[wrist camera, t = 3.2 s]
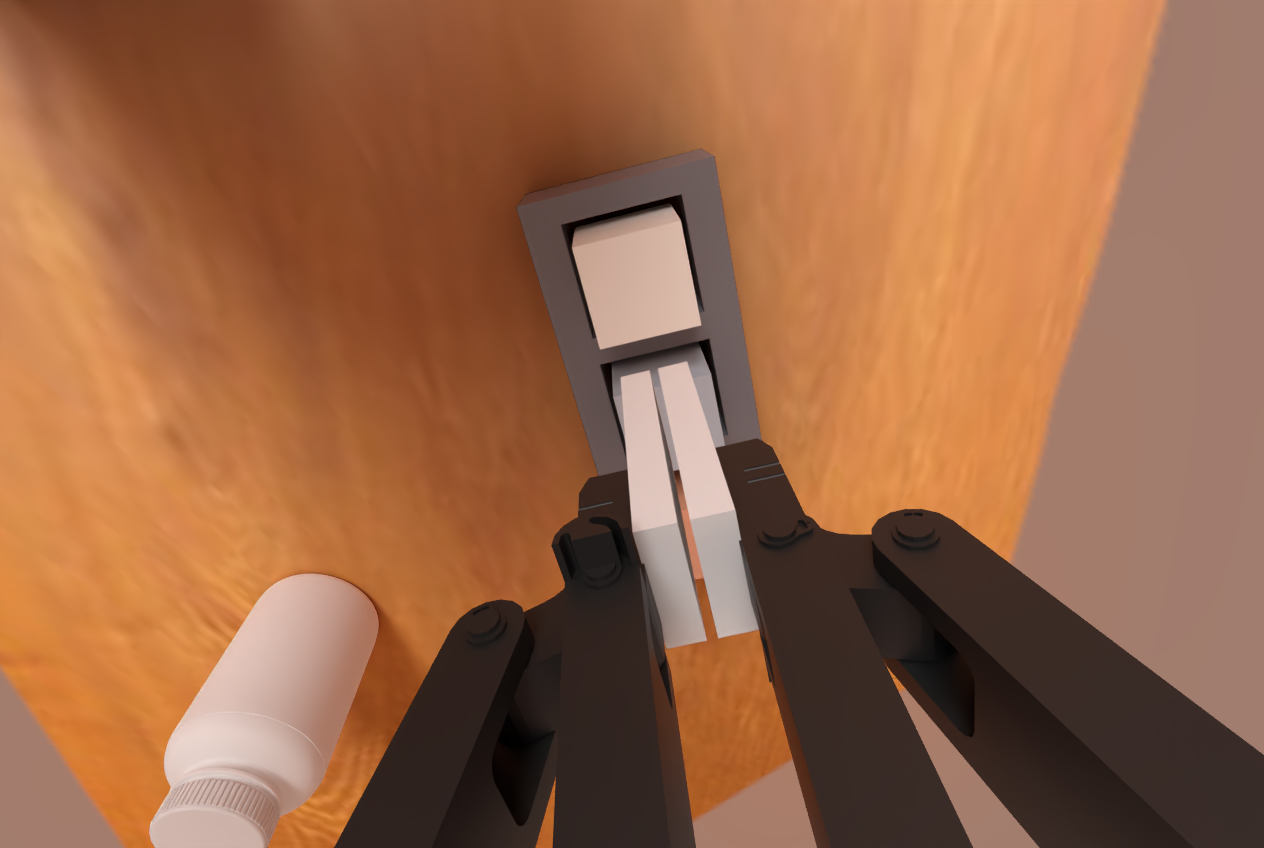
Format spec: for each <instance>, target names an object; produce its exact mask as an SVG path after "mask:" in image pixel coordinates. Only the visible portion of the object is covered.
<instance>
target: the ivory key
mask: <svg viewBox="0 0 1264 848" xmlns="http://www.w3.org/2000/svg"><path fill="white" fill-rule="evenodd" d="M572 250H573V254H574V257H575V261H576V265H577V268H578V272H579V275H580V279H581V283H582V286H583V290H584V294H585V297H586V301H587V304H588V308H589V312H590V315H591V319H592V322H593V326H594V330H595V333H596V337H597V341H598V344H599V348H600V350H601V349H605V348H609V347H613V346H617V345H622V344H626V343H630V342H634V341H638V340H642V339H646V338H651V337H655V336H659V335H663V334H667V333H671V332H676V331H680V330H684V329H688V328H692V327H696V326H701V321H700V316H699V310H698V305H697V300H696V295H695V290H694V285H693V280H692V275H691V270H690V265H689V260H688V254H687V249H686V244H685V239H684V234H683V229H682V224H681V220H680V218H679V217H678V215H677V214H676V212H675V210H674V209H673V207H672V206H671V204H670V203H669V204H665V205H661V206H657V207H653V208H649V209H645V210H641V211H637V212H634V213H630V214H626V215H622V216H618V217H614V218H610V219H606V220H602V221H598V222H594V223H590V224H586V225H582V226H578V227H575V232H574V238H573V244H572Z"/></svg>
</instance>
